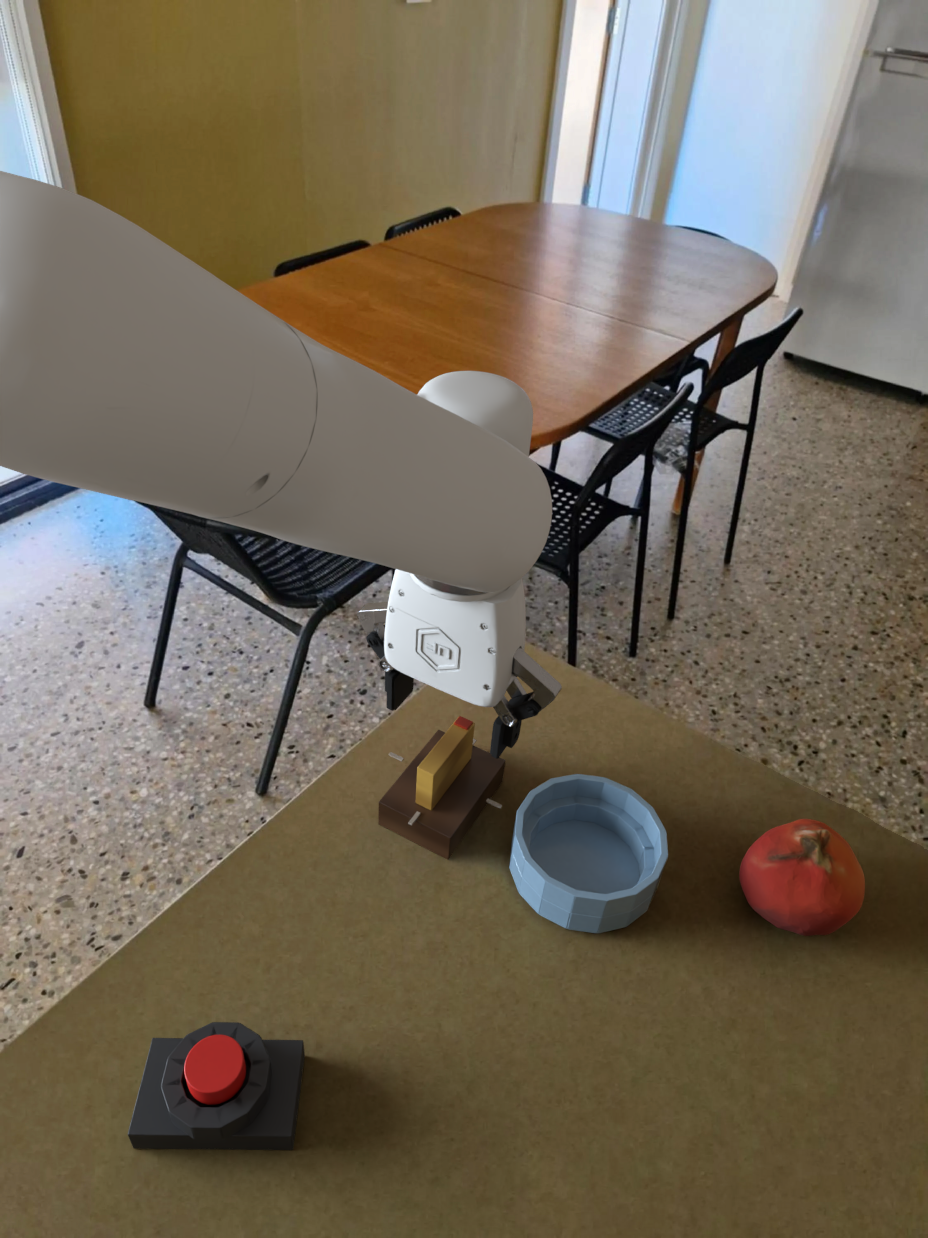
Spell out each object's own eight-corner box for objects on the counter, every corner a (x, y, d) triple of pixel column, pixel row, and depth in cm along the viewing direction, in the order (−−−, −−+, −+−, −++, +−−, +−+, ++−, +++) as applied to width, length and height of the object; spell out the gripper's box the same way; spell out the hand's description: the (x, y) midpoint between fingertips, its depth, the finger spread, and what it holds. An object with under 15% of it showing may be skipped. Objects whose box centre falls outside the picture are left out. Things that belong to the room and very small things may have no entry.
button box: (132, 1153, 56) (120, 1127, 53) (158, 1049, 61) (149, 1020, 58) (292, 1155, 56) (289, 1129, 54) (305, 1051, 61) (302, 1023, 59)
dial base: (466, 877, 73) (469, 853, 71) (353, 818, 77) (353, 795, 75) (526, 787, 81) (530, 764, 79) (421, 738, 85) (422, 715, 83)
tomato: (857, 890, 75) (892, 831, 70) (833, 977, 68) (870, 919, 63) (749, 840, 78) (775, 780, 73) (717, 919, 72) (743, 859, 66)
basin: (623, 963, 68) (636, 927, 65) (483, 890, 72) (488, 853, 69) (674, 850, 76) (687, 813, 73) (546, 791, 81) (554, 754, 77)
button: (181, 1105, 55) (177, 1093, 54) (194, 1046, 57) (191, 1033, 56) (240, 1106, 55) (238, 1093, 54) (250, 1047, 58) (248, 1034, 57)
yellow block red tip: (431, 811, 74) (433, 773, 71) (415, 803, 75) (417, 765, 72) (471, 758, 79) (475, 720, 76) (455, 750, 80) (459, 713, 77)
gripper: (329, 537, 62) (336, 709, 73) (552, 625, 56) (524, 798, 67) (387, 491, 67) (386, 658, 78) (597, 567, 62) (564, 736, 72)
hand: (450, 722), depth 73 cm, fingers open, 9 cm apart
